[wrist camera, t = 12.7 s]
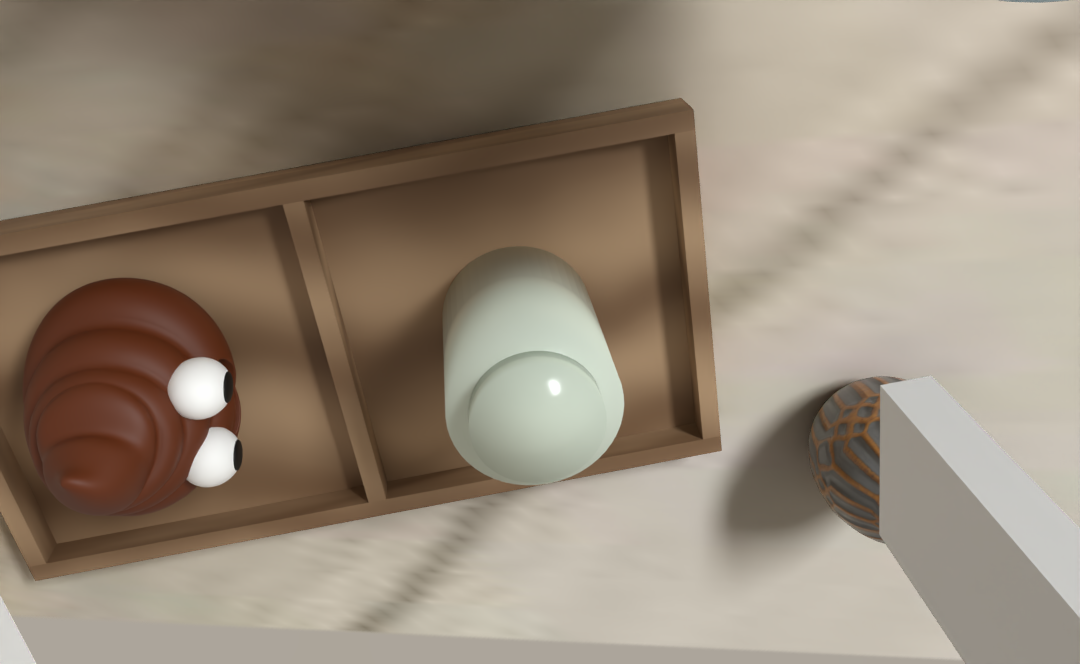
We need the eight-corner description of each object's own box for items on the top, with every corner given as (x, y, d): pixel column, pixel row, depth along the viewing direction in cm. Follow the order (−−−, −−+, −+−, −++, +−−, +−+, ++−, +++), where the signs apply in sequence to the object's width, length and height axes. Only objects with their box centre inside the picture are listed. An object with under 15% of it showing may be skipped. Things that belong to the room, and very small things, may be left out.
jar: (428, 261, 40) (428, 362, 32) (580, 233, 40) (618, 327, 32) (457, 393, 43) (464, 515, 35) (599, 366, 43) (638, 482, 35)
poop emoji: (19, 270, 39) (-94, 385, 30) (239, 265, 39) (189, 375, 31) (68, 480, 43) (-18, 630, 35) (265, 471, 44) (227, 615, 35)
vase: (817, 499, 49) (892, 622, 41) (769, 395, 46) (840, 507, 38) (946, 439, 48) (1048, 554, 40) (906, 330, 45) (1008, 430, 37)
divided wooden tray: (-102, 239, 38) (-128, 258, 36) (681, 98, 39) (693, 109, 37) (50, 552, 45) (35, 580, 43) (710, 427, 46) (721, 450, 44)
